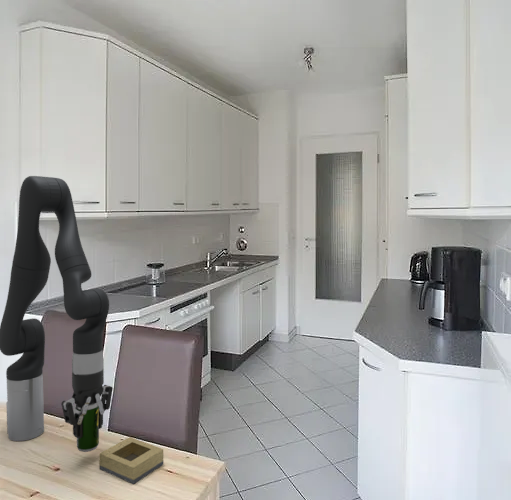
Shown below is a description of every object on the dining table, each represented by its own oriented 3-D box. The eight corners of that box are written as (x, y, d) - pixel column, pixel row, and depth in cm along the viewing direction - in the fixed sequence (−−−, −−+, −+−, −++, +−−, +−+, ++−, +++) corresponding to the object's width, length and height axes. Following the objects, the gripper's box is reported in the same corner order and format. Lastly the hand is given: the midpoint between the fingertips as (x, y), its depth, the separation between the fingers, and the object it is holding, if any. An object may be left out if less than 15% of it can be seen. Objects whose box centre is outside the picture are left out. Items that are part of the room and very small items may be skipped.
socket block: (99, 469, 110) (99, 453, 110) (130, 451, 118) (130, 437, 118) (133, 484, 104) (133, 467, 103) (163, 464, 112) (163, 449, 112)
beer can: (79, 454, 110) (78, 407, 109) (74, 445, 114) (74, 400, 113) (101, 448, 113) (101, 403, 112) (96, 439, 117) (95, 395, 116)
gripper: (101, 357, 120) (101, 418, 121) (53, 373, 108) (53, 440, 109) (120, 363, 116) (120, 425, 117) (72, 379, 104) (73, 449, 105)
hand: (88, 432), depth 113 cm, fingers closed on beer can, 5 cm apart
